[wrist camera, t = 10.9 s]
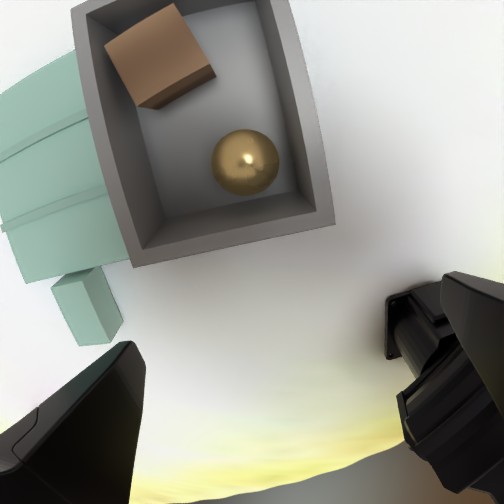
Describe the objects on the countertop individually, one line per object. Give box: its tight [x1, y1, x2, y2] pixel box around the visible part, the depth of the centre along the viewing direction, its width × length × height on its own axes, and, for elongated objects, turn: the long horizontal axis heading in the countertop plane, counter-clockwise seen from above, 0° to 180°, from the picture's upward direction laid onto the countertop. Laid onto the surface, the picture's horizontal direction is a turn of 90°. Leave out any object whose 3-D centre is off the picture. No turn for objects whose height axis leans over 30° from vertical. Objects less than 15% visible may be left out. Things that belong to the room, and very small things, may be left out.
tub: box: [71, 0, 336, 268], centre depth 15 cm, size 14×10×6 cm
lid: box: [0, 50, 130, 346], centre depth 19 cm, size 20×11×3 cm, turn 12°
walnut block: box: [104, 3, 217, 110], centre depth 14 cm, size 4×4×4 cm
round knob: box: [211, 129, 280, 196], centre depth 16 cm, size 3×3×4 cm
